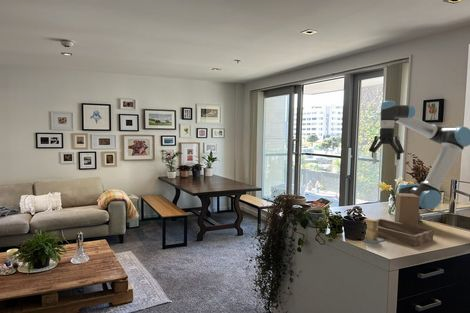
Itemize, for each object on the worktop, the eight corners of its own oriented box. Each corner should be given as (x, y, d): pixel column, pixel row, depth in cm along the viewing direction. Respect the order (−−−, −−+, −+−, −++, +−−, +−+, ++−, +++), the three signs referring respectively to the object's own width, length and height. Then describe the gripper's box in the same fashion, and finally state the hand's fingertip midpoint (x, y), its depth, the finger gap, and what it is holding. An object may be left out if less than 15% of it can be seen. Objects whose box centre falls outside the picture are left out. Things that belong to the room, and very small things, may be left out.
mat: (366, 235, 181) (366, 234, 181) (384, 240, 173) (384, 239, 173) (355, 238, 175) (355, 237, 175) (373, 244, 167) (373, 243, 167)
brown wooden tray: (380, 226, 198) (380, 218, 198) (432, 240, 175) (433, 230, 175) (361, 231, 187) (361, 223, 187) (414, 246, 164) (415, 236, 163)
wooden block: (417, 232, 189) (419, 196, 188) (398, 230, 191) (400, 195, 190) (412, 227, 199) (414, 193, 197) (394, 226, 201) (395, 192, 199)
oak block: (368, 236, 177) (369, 217, 176) (377, 239, 173) (378, 219, 172) (362, 238, 174) (363, 219, 173) (371, 240, 170) (372, 221, 169)
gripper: (364, 127, 204) (362, 162, 205) (405, 127, 184) (403, 166, 185) (371, 128, 208) (369, 162, 210) (412, 128, 188) (409, 166, 190)
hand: (385, 164), depth 198 cm, fingers open, 13 cm apart
